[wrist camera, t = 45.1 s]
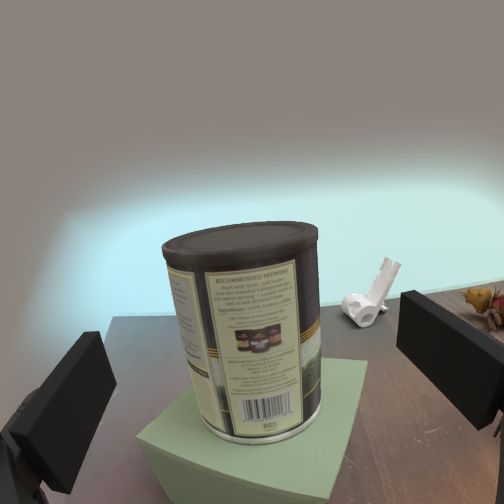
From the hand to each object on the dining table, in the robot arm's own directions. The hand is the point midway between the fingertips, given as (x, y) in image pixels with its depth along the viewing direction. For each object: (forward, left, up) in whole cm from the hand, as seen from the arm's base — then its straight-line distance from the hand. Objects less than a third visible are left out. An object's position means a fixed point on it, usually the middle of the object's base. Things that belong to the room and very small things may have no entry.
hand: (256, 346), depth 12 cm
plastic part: (+17, +45, -22) cm, 53 cm away
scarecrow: (+42, +33, -22) cm, 58 cm away
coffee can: (-2, +9, -11) cm, 14 cm away
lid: (-1, +9, -12) cm, 15 cm away
